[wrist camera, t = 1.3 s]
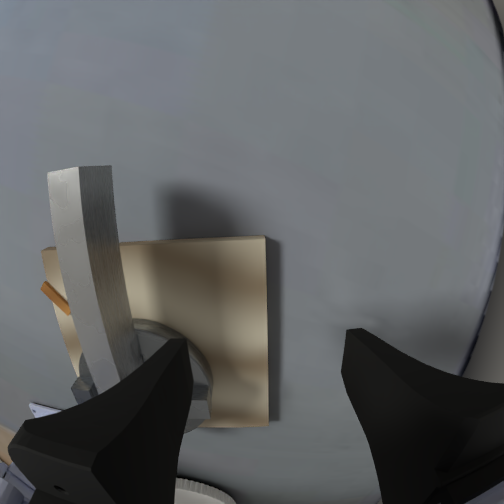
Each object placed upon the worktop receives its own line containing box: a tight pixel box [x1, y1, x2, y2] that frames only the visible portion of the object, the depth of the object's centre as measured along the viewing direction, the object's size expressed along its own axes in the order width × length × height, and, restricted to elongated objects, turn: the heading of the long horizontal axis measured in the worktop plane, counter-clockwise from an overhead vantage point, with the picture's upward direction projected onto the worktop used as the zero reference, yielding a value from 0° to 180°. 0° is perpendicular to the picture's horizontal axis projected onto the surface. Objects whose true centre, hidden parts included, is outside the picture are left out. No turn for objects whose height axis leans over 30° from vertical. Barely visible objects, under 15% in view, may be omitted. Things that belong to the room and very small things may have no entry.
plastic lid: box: [174, 478, 236, 504], centre depth 27 cm, size 14×14×2 cm
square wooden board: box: [41, 235, 269, 427], centre depth 21 cm, size 16×17×1 cm
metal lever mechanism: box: [47, 165, 213, 433], centre depth 16 cm, size 20×10×6 cm, turn 2°
